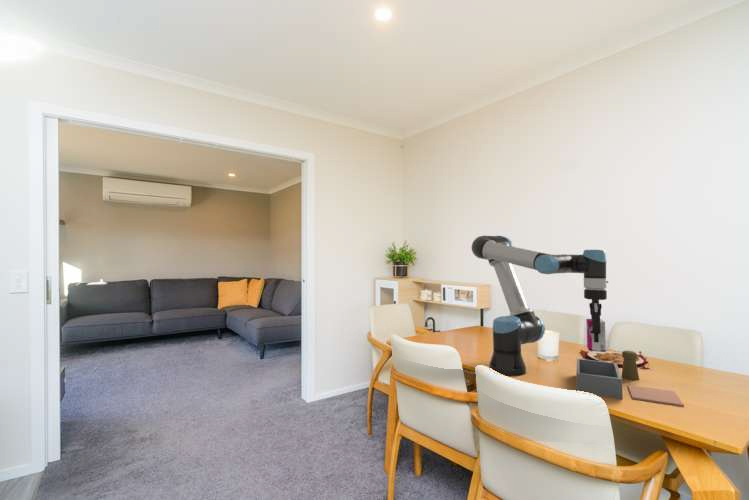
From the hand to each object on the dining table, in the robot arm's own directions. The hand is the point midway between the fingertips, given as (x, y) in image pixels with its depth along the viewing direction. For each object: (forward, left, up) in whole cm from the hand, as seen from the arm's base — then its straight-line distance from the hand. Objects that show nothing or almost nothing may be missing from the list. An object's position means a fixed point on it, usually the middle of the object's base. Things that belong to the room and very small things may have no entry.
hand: (596, 348), depth 139 cm
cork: (+12, +17, -15) cm, 26 cm away
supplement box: (0, 0, -1) cm, 1 cm away
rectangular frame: (0, 0, -15) cm, 15 cm away
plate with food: (+9, +43, -15) cm, 46 cm away
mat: (+17, -2, -15) cm, 23 cm away
